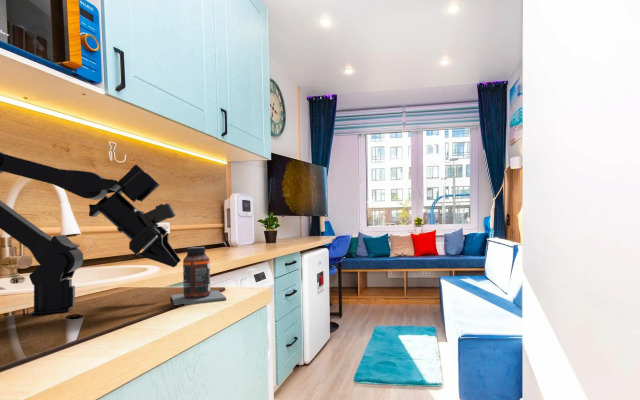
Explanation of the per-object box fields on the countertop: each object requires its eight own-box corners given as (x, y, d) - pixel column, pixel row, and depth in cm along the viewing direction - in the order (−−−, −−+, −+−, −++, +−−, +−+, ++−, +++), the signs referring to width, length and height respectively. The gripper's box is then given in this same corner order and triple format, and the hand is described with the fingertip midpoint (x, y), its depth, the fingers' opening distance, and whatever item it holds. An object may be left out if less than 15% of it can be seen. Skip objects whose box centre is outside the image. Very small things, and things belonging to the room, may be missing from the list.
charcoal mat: (174, 305, 84) (174, 303, 84) (171, 297, 94) (171, 295, 94) (226, 300, 88) (226, 297, 88) (218, 292, 98) (218, 290, 98)
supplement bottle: (215, 294, 92) (215, 246, 93) (197, 299, 87) (196, 248, 88) (197, 293, 95) (196, 246, 96) (177, 297, 90) (177, 248, 90)
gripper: (146, 187, 81) (202, 239, 83) (158, 194, 99) (204, 237, 101) (103, 226, 78) (162, 279, 81) (123, 226, 96) (171, 269, 99)
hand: (177, 263), depth 90 cm, fingers open, 9 cm apart
